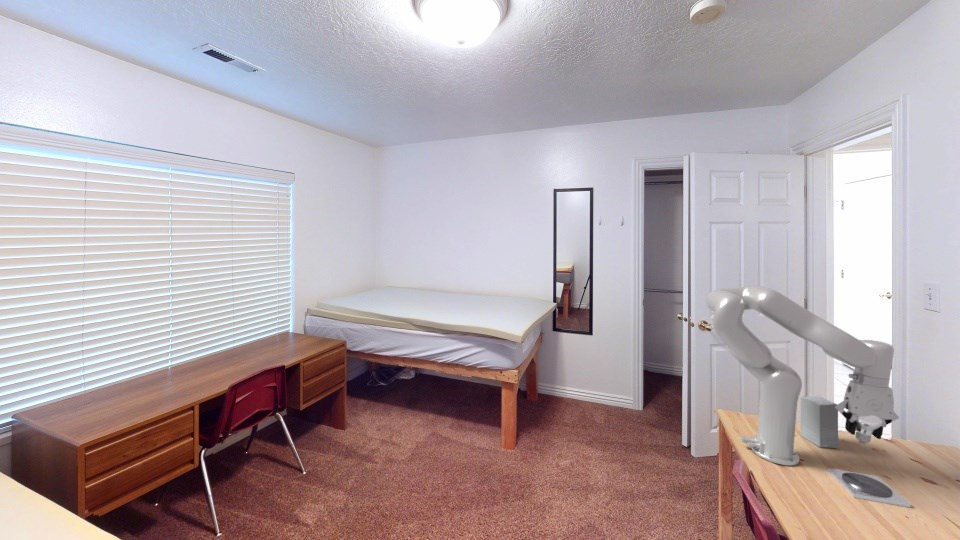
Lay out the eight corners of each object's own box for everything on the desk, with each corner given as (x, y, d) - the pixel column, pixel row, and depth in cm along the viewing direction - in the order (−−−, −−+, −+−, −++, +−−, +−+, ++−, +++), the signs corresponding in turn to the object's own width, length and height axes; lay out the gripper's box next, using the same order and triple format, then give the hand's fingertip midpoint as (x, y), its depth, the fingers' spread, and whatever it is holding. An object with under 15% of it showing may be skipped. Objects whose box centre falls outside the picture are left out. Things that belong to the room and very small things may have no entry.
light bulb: (885, 450, 108) (891, 413, 107) (858, 447, 109) (864, 410, 108) (865, 438, 115) (870, 403, 113) (840, 435, 116) (845, 400, 115)
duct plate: (853, 497, 99) (853, 492, 99) (827, 470, 111) (828, 467, 110) (910, 507, 95) (910, 503, 95) (877, 479, 107) (877, 475, 107)
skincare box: (838, 448, 122) (842, 405, 121) (817, 448, 123) (820, 404, 122) (816, 435, 131) (820, 394, 130) (796, 434, 131) (799, 394, 130)
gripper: (843, 379, 109) (836, 434, 111) (917, 389, 104) (908, 447, 105) (828, 371, 116) (822, 423, 118) (897, 380, 111) (889, 434, 112)
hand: (862, 434), depth 112 cm, fingers closed on light bulb, 5 cm apart
